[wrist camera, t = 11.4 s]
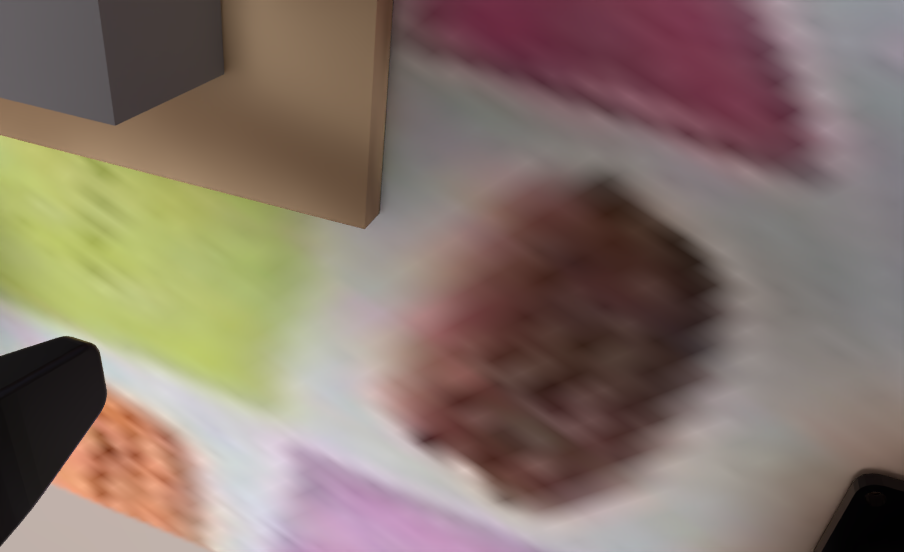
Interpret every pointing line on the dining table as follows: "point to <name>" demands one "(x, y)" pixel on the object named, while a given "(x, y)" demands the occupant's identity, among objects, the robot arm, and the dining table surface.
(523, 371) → the dining table surface
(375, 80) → the pin board
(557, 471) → the dining table surface
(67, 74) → the plug housing
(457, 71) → the dining table surface
